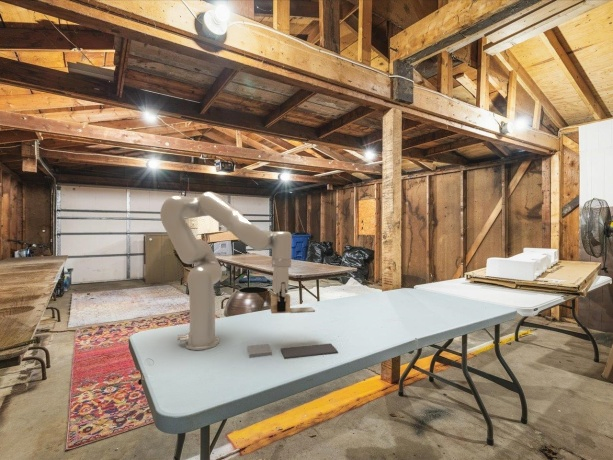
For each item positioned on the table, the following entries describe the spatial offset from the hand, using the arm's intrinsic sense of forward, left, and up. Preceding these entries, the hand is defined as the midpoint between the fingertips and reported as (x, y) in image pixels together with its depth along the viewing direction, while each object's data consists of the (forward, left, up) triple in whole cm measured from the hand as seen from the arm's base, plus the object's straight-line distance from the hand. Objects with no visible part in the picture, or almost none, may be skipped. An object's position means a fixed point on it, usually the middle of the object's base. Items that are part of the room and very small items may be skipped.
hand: (280, 309), depth 118 cm
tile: (-9, 0, -14) cm, 16 cm away
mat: (+9, -8, -14) cm, 19 cm away
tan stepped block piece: (+5, 0, -1) cm, 5 cm away
